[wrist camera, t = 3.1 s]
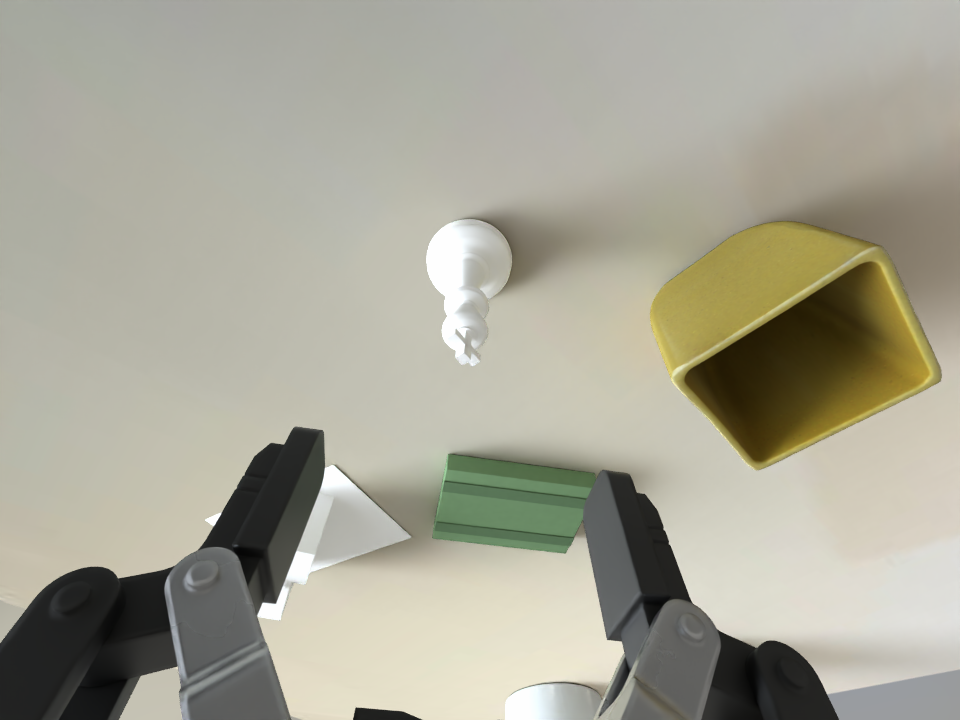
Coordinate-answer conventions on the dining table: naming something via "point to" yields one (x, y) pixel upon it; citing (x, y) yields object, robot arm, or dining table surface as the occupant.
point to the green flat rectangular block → (510, 504)
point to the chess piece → (468, 280)
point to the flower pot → (791, 337)
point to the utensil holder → (553, 703)
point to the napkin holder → (335, 533)
